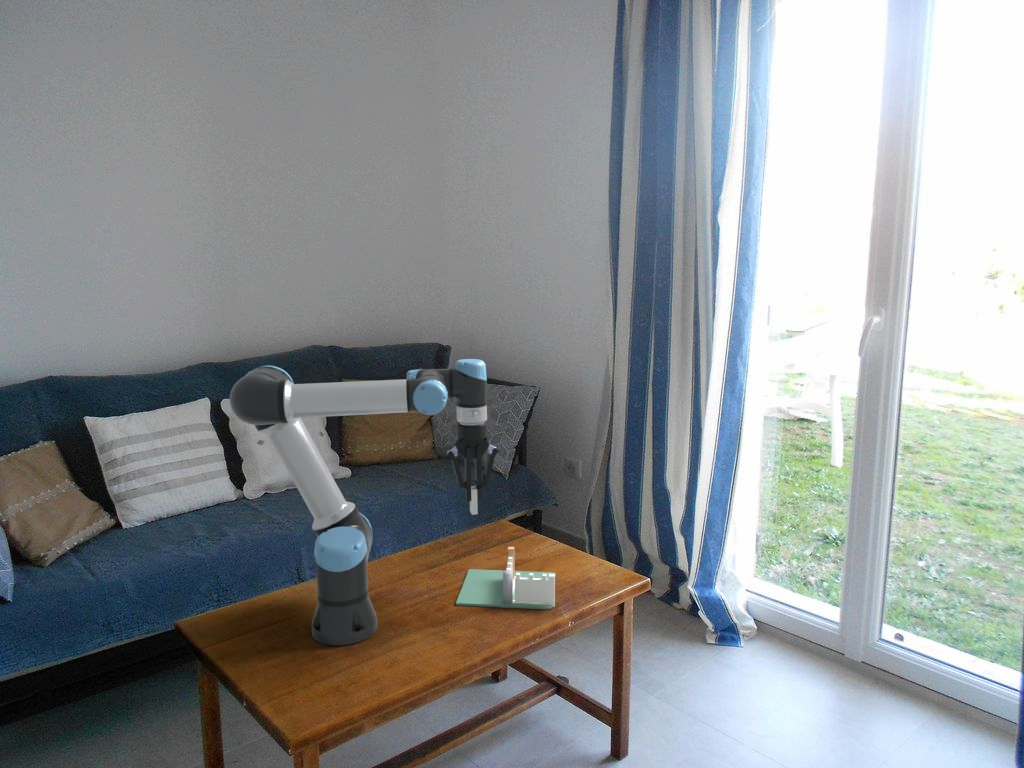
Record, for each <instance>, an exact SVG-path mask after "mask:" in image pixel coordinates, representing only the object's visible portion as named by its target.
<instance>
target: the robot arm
mask: <svg viewBox="0 0 1024 768" xmlns="http://www.w3.org/2000/svg"><path fill="white" fill-rule="evenodd" d="M487 380H488V377H487V365H486V363H485V361H483V360H482V359H478V358H465V359H463V358H462V359H458V360H456V362H455V366H454V368H453V367H452V368H432V369H431V368H429V369H428V368H427V369H425V368H418V369H411V370H408V371H407V372H406V379H402V378H401V379H386V380H385V379H384V380H383V379H382V380H380V379H379V380H363V381H340V382H339V381H338V382H316V383H314V382H313V383H312V382H311V383H294V380H293V379H292V377H291V376H290V375H289V373H288V372H287V371H286V370H284V369H282V368H281V367H278V366H275V365H262V366H258V367H256V368H253V369H252V370H249V371H248V372H247V373H246V374H244V375H243V376H242V377H241V378H239V379H238V380H237V381H236V382H235V384H234V385H233V386H232V388H231V391H230V394H229V404H230V408H231V410H232V412H233V413H234V415H235V416H236V417H237V418H238V419H239V420H240V421H242V422H243V423H246V424H248V425H249V424H250V425H253V426H254V427H255V428H256V431H257V432H258V433H262V434H266V435H267V437H268V439H269V440H270V442H271V443H272V445H273V447H274V449H275V451H276V452H277V455H278V456H279V458H280V460H281V461H282V463H283V465H284V466H285V469H286V470H287V472H288V474H289V475H290V477H291V479H292V481H293V483H294V485H295V487H296V488H297V490H298V492H299V493H300V495H301V497H302V499H303V501H304V503H305V505H306V507H307V508H308V511H310V513H311V515H312V516H313V522H312V525H311V528H312V530H313V533H314V534H315V535H316V537H317V538H316V540H315V543H314V549H313V550H314V551H313V556H314V562H315V575H316V576H315V577H316V591H317V593H316V594H317V602H316V603H317V604H316V607H315V611H314V615H313V618H312V620H311V621H312V622H311V636H312V637H313V639H314V640H315V641H316V642H318V643H320V644H323V645H328V646H339V647H340V646H341V647H342V646H349V645H353V644H358V643H360V642H363V641H365V640H367V639H368V638H370V637H372V636H373V635H374V633H375V632H376V631H377V629H378V617H377V613H376V611H375V608H374V605H373V603H372V601H371V599H370V596H369V578H368V561H369V555H370V553H371V548H372V544H373V537H374V536H373V535H374V533H373V528H372V525H371V523H370V521H369V519H368V518H367V517H366V516H365V515H364V514H362V513H361V512H359V510H358V508H357V506H356V504H355V503H354V502H351V501H347V500H346V499H345V497H344V494H343V493H342V491H341V489H340V488H339V486H338V484H337V483H336V481H335V478H334V477H333V475H332V473H331V471H330V469H329V468H328V466H327V463H325V460H324V458H323V457H322V455H321V452H320V451H319V449H318V448H317V445H316V444H315V442H314V440H313V438H312V437H311V434H310V432H309V431H308V429H307V428H306V426H305V424H304V422H303V420H302V419H303V418H322V417H323V418H324V417H325V418H326V417H341V416H342V417H343V416H360V415H362V416H363V415H378V414H379V415H381V414H395V413H396V414H398V413H421V414H423V415H427V416H433V415H434V416H435V415H437V414H439V413H440V412H442V410H444V409H445V407H446V405H447V401H448V400H456V402H455V403H456V421H457V423H456V442H455V445H454V446H453V447H452V448H451V449H450V448H449V449H447V451H446V454H447V455H448V456H449V458H450V459H451V463H452V466H453V470H454V473H455V477H456V481H457V485H458V486H459V487H460V488H461V489H464V490H465V500H466V502H469V512H470V514H471V515H473V516H474V515H478V514H479V512H478V511H479V509H478V504H479V503H478V501H482V489H483V487H485V486H486V487H487V486H489V483H490V479H491V474H492V469H493V465H494V462H495V457H496V456H497V454H498V453H499V449H498V448H497V447H496V446H495V445H492V444H490V441H489V438H488V423H487V422H486V421H487V420H488V409H487V408H488V405H487V404H488V402H487V401H488V398H487V396H488V392H487V391H488V387H487V385H488V381H487ZM486 451H487V453H488V454H487V456H486V460H485V461H486V462H485V465H484V471H483V474H482V457H483V455H484V454H485V453H486ZM458 452H459V453H458ZM458 454H460V455H461V456H462V457H463V459H464V480H463V476H462V472H461V468H460V465H459V460H458V459H457V457H458ZM473 459H474V486H472V460H473Z"/></svg>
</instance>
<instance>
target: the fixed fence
mask: <svg viewBox="0 0 1024 768" xmlns="http://www.w3.org/2000/svg"><path fill="white" fill-rule="evenodd" d="M555 582H556V576H555V574H549V579H547V574H543V579H542V578H533V573H530V574H529V578H520V573H516V577H515V601H516V602H520V601H522V602H543V603H549V604H552V608H555V606H556V603H555V602H556V598H555V597H556V589H555V587H556V583H555ZM503 602H504V603H506V604H511V603H512V602H513V572H512V571H511V570H504V571H503Z"/></svg>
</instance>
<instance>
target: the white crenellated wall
mask: <svg viewBox="0 0 1024 768" xmlns="http://www.w3.org/2000/svg"><path fill="white" fill-rule="evenodd" d="M515 563H516V562H515V546H508V547H507V563H506V564H507V565H506V570H511V571H512V572H513V579H514V577H515V571H516V570H515V565H516V564H515Z"/></svg>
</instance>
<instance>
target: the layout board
mask: <svg viewBox="0 0 1024 768" xmlns="http://www.w3.org/2000/svg"><path fill="white" fill-rule="evenodd" d="M503 571H505V570H504V569H503V570H501V569H500V570H499V569H498V570H497V569H478V568H477V569H475V568H472V569H470V568H469V569H468V570H467V573H466V576H465V579H464V580H463V584H462V586H461V589H460V591H459V593H458V596H457V599H456V602H455V606H461V607H462V606H463V607H465V606H466V607H488V608H504V609H505V608H506V609H507V608H508V609H527V610H528V609H529V610H531V609H532V610H535V609H536V610H552V608H553V607H552V604H549V603H543V602H522V601H520V602H516V601H515V577H516V573H520V578H529V574H530V573H533V578H542V579H543V574H547V579H549V574H555V577H556V575H557V572H555V571H554V572H552V571H551V572H550V571H548V572H547V571H527V570H526V571H524V570H520V571H519V570H515V577H514V579H513V602H512V603H511V604H506V603H504V602H503Z"/></svg>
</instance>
